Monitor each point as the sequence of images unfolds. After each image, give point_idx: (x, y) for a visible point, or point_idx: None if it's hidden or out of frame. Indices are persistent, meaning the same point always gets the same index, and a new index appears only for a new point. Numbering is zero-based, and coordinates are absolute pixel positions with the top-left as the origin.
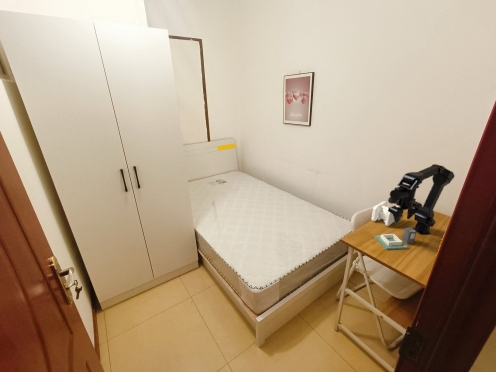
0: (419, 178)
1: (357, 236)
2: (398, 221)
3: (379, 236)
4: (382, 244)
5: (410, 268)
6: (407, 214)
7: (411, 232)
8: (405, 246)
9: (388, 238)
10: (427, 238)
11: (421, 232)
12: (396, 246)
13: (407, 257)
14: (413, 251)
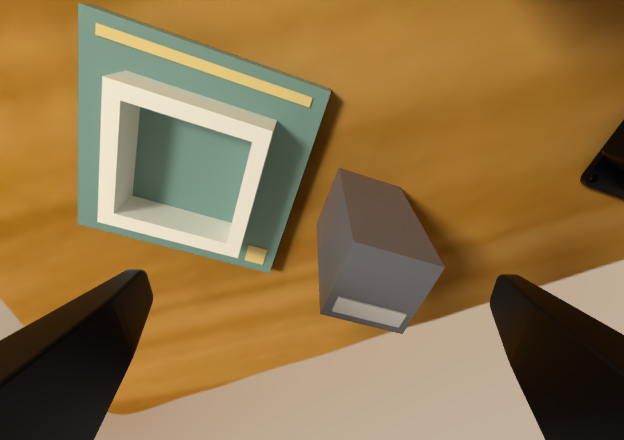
0: None
1: None
2: (123, 363)
3: (132, 46)
4: (80, 164)
5: None
6: (575, 350)
7: (342, 314)
8: (253, 262)
9: None
10: (552, 236)
11: (616, 175)
12: None
13: (183, 315)
14: (279, 293)
